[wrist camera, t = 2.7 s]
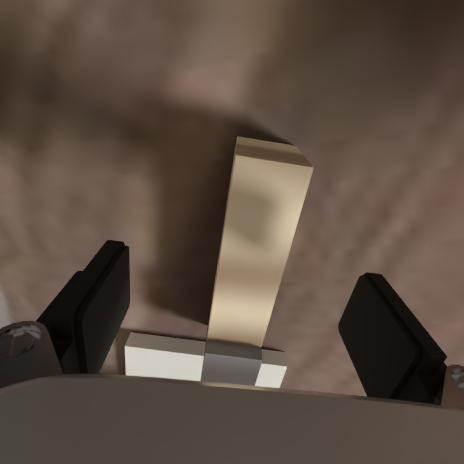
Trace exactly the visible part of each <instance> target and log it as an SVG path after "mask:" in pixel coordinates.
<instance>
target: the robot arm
mask: <svg viewBox="0 0 464 464" xmlns="http://www.w3.org/2000/svg"><path fill="white" fill-rule="evenodd" d="M129 304H130V269H129V247H128V246H125V244H124V242H121V241H113V240H107V241H106V242H105V244H104V245H103V246H102V248H101V249H100V250H99V251H98V253H97V254H96V255H95V256H94V258H93V259H92V260H91V262H90V263H89V264H88V265H87V267H86V268H85V269H84V270H83V271H78V272H76V273H75V274H74V275H73V277H72V278H71V279H70V280H69V281H68V283H67V284H66V285H65V286H64V288H63V289H62V290H61V291H60V292H59V294H58V295H57V296H56V297H55V299H54V300H53V301H52V302H51V303H50V305H49V306H48V307H47V308H46V310H45V311H44V312H43V313H42V314H41V316H40V317H39V318H38V319H37V321H20V322H16V323H12V324H10V325H7V326H5V327H2V328H1V329H0V464H464V366H461V365H450V366H448V367H447V366H446V364H445V363H444V361H445V359H446V358H447V356H446V355H445V353H444V352H443V351H442V350H441V348H440V347H439V346H438V345H437V343H436V342H435V341H434V340H433V338H432V337H431V336H430V335H429V333H428V332H427V331H426V330H425V328H424V327H423V326H422V325H421V323H420V322H419V321H418V319H417V318H416V317H415V316H414V314H413V313H412V312H411V311H410V309H409V308H408V307H407V306H406V304H405V303H404V302H403V301H402V299H401V298H400V297H399V296H398V294H397V293H396V292H395V291H394V289H393V288H392V287H391V286H390V284H389V283H388V282H387V280H386V279H385V278H384V277H383V276H382V275H381V274H375V273H365V274H364V275H362V276H360V277H359V279H358V281H357V283H356V285H355V288H354V290H353V292H352V295H351V297H350V299H349V301H348V304H347V306H346V308H345V310H344V313H343V315H342V317H341V320H340V322H339V326H338V329H339V333H340V335H341V337H342V340H343V342H344V344H345V346H346V349H347V351H348V353H349V356H350V358H351V360H352V362H353V365H354V367H355V369H356V371H357V374H358V376H359V378H360V381H361V383H362V385H363V387H364V390H365V392H366V394H367V397H366V396H356V395H345V394H335V393H325V392H315V391H304V390H293V389H282V388H272V387H261V386H250V385H239V384H228V383H216V382H204V381H193V380H181V379H170V378H158V377H144V376H129V375H115V374H99V372H100V370H101V367H102V365H103V363H104V361H105V359H106V356H107V354H108V352H109V350H110V348H111V345H112V343H113V341H114V339H115V337H116V334H117V332H118V330H119V328H120V326H121V323H122V321H123V319H124V317H125V315H126V312H127V310H128V308H129Z"/></svg>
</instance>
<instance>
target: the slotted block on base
mask: <svg viewBox="0 0 464 464" xmlns="http://www.w3.org/2000/svg"><path fill="white" fill-rule="evenodd" d="M205 344H206V342H203V341H195V340H187V339H180V338H172V337H164V336H156V335H149V334H141V333H133V332H131V333H130V335H129V337H128V340H127V342H126V344H125V366H126V375H129V376H144V377H158V378H170V379H181V380H193V381H201V373H202V366H203V359H204V351H205ZM286 369H287V362H286V356H285V352H280V351H272V350H265V349H262V364H261V367H260V370H259V374H258V377H257V380H256V383H255V386H261V387H272V388H280V385H281V382H282V379H283V377H284V374H285V371H286Z"/></svg>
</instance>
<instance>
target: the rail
mask: <svg viewBox="0 0 464 464" xmlns="http://www.w3.org/2000/svg"><path fill="white" fill-rule="evenodd" d="M313 168H314V167H313V166H312V165H311V164H310V163H309V161H308V160H307V159H306V158H305V157H304V155H303V154H302V153H301V152H300V151H299V150H298V148H297V147H296V146H294V145H288V144H282V143H276V142H270V141H264V140H257V139H251V138H245V137H239V136H237V140H236V147H235V153H234V160H233V166H232V173H231V179H230V186H229V192H228V199H227V205H226V212H225V218H224V225H223V231H222V238H221V244H220V251H219V257H218V264H217V270H216V277H215V283H214V290H213V296H212V303H211V309H210V316H209V322H208V329H207V337H206V344H205V351H204V359H203V366H202V373H201V381H204V382H216V383H228V384H239V385H250V386H255V383H256V380H257V377H258V374H259V370H260V367H261V364H262V344H263V340H264V337H265V333H266V330H267V326H268V323H269V320H270V316H271V313H272V309H273V306H274V302H275V299H276V295H277V292H278V289H279V285H280V282H281V278H282V275H283V271H284V268H285V265H286V261H287V258H288V254H289V251H290V247H291V244H292V240H293V237H294V234H295V230H296V227H297V223H298V220H299V216H300V213H301V210H302V206H303V203H304V199H305V196H306V192H307V189H308V186H309V182H310V179H311V175H312V172H313Z"/></svg>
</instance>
